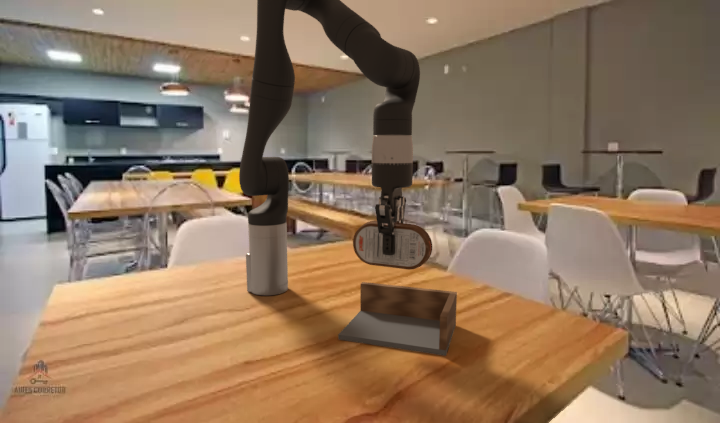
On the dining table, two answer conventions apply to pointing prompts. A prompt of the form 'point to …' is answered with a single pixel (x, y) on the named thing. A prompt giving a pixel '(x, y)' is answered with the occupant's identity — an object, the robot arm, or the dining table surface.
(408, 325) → the mat
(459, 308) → the dining table surface
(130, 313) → the dining table surface
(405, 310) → the walls
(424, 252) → the tin
